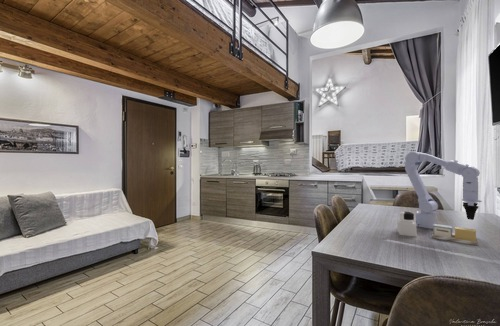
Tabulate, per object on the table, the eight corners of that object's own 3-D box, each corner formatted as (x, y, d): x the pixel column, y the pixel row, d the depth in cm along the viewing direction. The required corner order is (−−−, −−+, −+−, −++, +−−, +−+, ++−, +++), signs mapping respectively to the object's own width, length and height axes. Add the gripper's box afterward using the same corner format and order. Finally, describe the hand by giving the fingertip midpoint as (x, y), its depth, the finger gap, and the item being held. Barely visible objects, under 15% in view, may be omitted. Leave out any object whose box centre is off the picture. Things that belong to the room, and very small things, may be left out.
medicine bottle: (413, 234, 120) (413, 211, 120) (416, 238, 114) (416, 214, 114) (397, 232, 123) (397, 210, 123) (399, 236, 117) (399, 212, 117)
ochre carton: (475, 241, 106) (475, 229, 106) (475, 243, 103) (475, 231, 103) (455, 238, 111) (455, 226, 111) (454, 240, 108) (454, 228, 108)
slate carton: (433, 236, 113) (433, 225, 113) (433, 234, 116) (433, 223, 116) (452, 239, 109) (452, 228, 109) (452, 237, 112) (452, 226, 112)
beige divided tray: (431, 239, 112) (431, 234, 112) (434, 231, 126) (434, 227, 126) (477, 247, 102) (477, 242, 102) (475, 237, 115) (475, 233, 115)
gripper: (482, 193, 108) (482, 222, 108) (480, 190, 119) (480, 216, 119) (462, 191, 113) (462, 219, 113) (462, 189, 123) (462, 214, 124)
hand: (470, 218), depth 116 cm, fingers open, 7 cm apart
